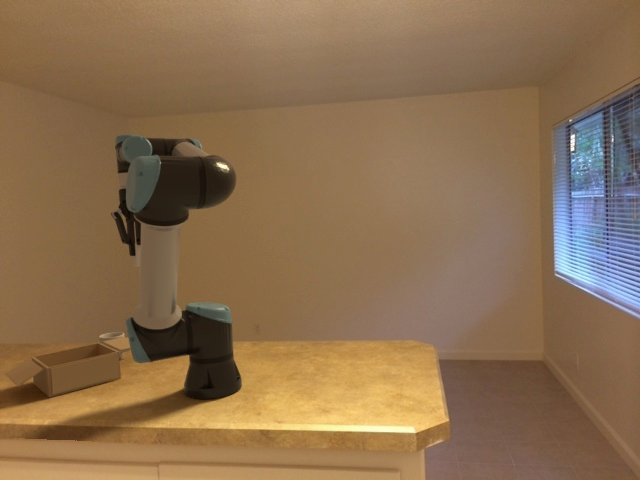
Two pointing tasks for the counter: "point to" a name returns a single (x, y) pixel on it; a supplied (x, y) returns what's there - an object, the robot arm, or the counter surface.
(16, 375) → the flap near
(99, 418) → the counter surface
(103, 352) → the carton
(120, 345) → the flap far
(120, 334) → the cup
